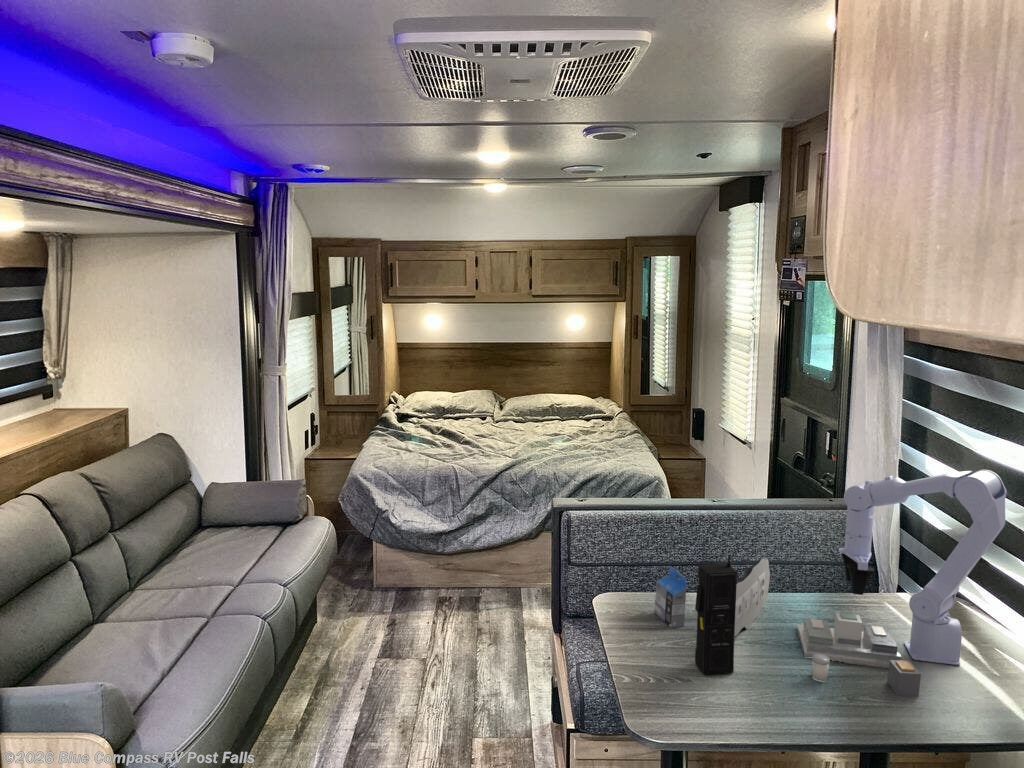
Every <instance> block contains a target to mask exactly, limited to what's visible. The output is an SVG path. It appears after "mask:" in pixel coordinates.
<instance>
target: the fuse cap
mask: <svg viewBox="0 0 1024 768" xmlns="http://www.w3.org/2000/svg"><path fill="white" fill-rule="evenodd" d="M811 660H812V663H811V675H812V677H814V678H815V679H817V680H821V681H826V680H829V667H830V663H831V661H830V659H829V657H827V656H825V655H823V654H814V655H812V659H811ZM812 677H811V678H812Z"/></svg>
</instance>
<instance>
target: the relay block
mask: <svg viewBox="0 0 1024 768" xmlns="http://www.w3.org/2000/svg"><path fill="white" fill-rule="evenodd" d="M887 675H888V676H887V684H888V685H889V686H890V687H891V688H892V690H893V691H894V693H895V694H896V695H897V696H899V697H915V698H916V697H919V696H920V686H921V676H922V675H921V673H920V671H919V670H918V669H917V667H915V665H914V664H913V663H912V662H911V661H910V660H902V661H898V660H890V661H889V668H888V674H887Z"/></svg>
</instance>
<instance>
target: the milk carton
mask: <svg viewBox="0 0 1024 768" xmlns="http://www.w3.org/2000/svg"><path fill="white" fill-rule="evenodd" d="M668 572H669V573H668V574H667V575H665V576H664V577H662V578H660V579H659V580H658V579H657V580H656V582H655V597H654V608H653V609H654V610H653V613H654V614H655V615H656V616H658V618H660V619H661V620H662V621H663V622H664V623H665V624H666V625H668V626H669V627H670V628H681V627H685V614H686V612H685V611H686V597H687V580H686V577H685V576H684V575H682V574H681V573H680V572H679V571H678V570H677V569H675V568H674V567H673V566H671V565H668ZM677 576H678V577H677Z"/></svg>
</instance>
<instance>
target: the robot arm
mask: <svg viewBox="0 0 1024 768" xmlns="http://www.w3.org/2000/svg"><path fill="white" fill-rule="evenodd" d="M971 473H972V474H971ZM935 493H944V494H945V495H946V496H948V497H950V498H952V499H953V498H955V497H956V499H957V500H958V501H959V502H960V504H961V505H962V507H964V509H965V510H966V511H967V512H968V513H969V515H970V516H971V520H972V524H971V525H970V527H969V528H968V530H967V531H966V532H965V533H964V535H963V536H962V537H961V539H960V541H959V542H958V543H957V544H956V546H955V547H954V549H953V550H952V552H951V553H950V554H949V556H947V559H946V560H945V561H944V563H943V564H942V565H941V566H940V568H939V570H938V571H937V572H936V574H935V575H934V576H933V578H931V579H930V580H929V581H928V583H927V584H925V585H924V587H923V588H922V589H921V590H920V591H918V592H916V593H914V594H912V595H911V597H910V599H909V601H908V604H909V609H910V611H911V612H912V616H911V618H912V619H911V626H910V627H911V629H910V639H909V640H905V641H903V644H904V646H905V648H906V649H907V651H908V654H909V655H910V657H911V659H912V660H915V661H921V662H930V663H937V664H945V665H952V666H960V665H961V662H960V660H961V659H960V657H961V648H962V640H963V635H962V634H963V631H962V626H961V623H960V620H958V619H957V618H952V617H950V613H949V610H950V609H952V608H953V607H954V606H955V603H956V595H957V593H958V592H959V591H960V586H961V585H962V583H963V582H964V581H965V579H966V578H967V576H969V574H970V573H971V572H972V570H973V569H974V567H975V566H976V564H978V562H979V561H980V559H981V558H982V556H983V555H984V554H985V553H986V551H987V550H988V548H989V547H990V546H991V545H992V543H993V542H994V541H995V539H996V538H997V537H998V535H999V534H1000V533H1001V531H1002V530H1003V529H1004V527H1005V525H1006V497H1007V493H1008V491H1007V488H1006V487H1005V485H1004V482H1003V480H1002V479H1001V477H1000V476H999V474H997V473H996V472H994V471H992V470H990V469H979V470H977V471H974V472H973V470H964V471H954V472H948V473H942V474H938V475H934V476H932V475H931V476H928V477H924V478H919V479H913V480H908V481H906V480H904V479H902V478H900V477H894V476H893V475H888V476H885V477H884V479H881V480H876V481H872V480H866V481H864V482H860V483H857V484H855V485H852V486H850V487H848V488H847V489H846V490H845V491H844V494H843V501H844V502H845V505H846V506H847V511H846V519H845V521H846V522H845V535H844V547H839V548H838V552H839V554H840V555H841V557H842V559H843V564H844V570H845V571H844V572H845V578H846V581H847V582H851V584H850V585H851V590H852V595H861V596H862V595H864V593H865V590H866V587H867V584H868V582H869V580H870V578H871V576H873V575H874V573H875V569H874V567H871V566H870V567H869V561H870V560H871V558H872V538H873V528H874V511H875V507H883V506H890V505H896V504H897V505H898V504H903V503H906V502H907V500H908V499H909V497H911V496H918V495H926V494H935Z"/></svg>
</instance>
